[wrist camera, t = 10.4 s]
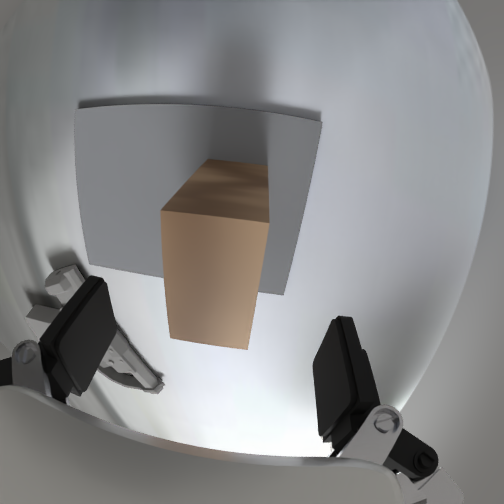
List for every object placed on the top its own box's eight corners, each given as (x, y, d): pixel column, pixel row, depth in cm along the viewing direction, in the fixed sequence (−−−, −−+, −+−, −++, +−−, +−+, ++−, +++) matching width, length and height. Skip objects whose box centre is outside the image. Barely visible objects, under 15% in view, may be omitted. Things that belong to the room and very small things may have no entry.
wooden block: (267, 165, 17) (269, 223, 10) (254, 255, 21) (247, 349, 13) (207, 159, 17) (160, 210, 10) (202, 249, 21) (170, 338, 13)
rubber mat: (320, 121, 16) (322, 122, 16) (283, 290, 23) (283, 295, 23) (79, 108, 16) (74, 109, 15) (92, 260, 23) (89, 264, 22)
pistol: (4, 297, 24) (67, 275, 21) (16, 283, 26) (83, 257, 23) (86, 392, 33) (166, 397, 30) (93, 377, 36) (171, 378, 33)
